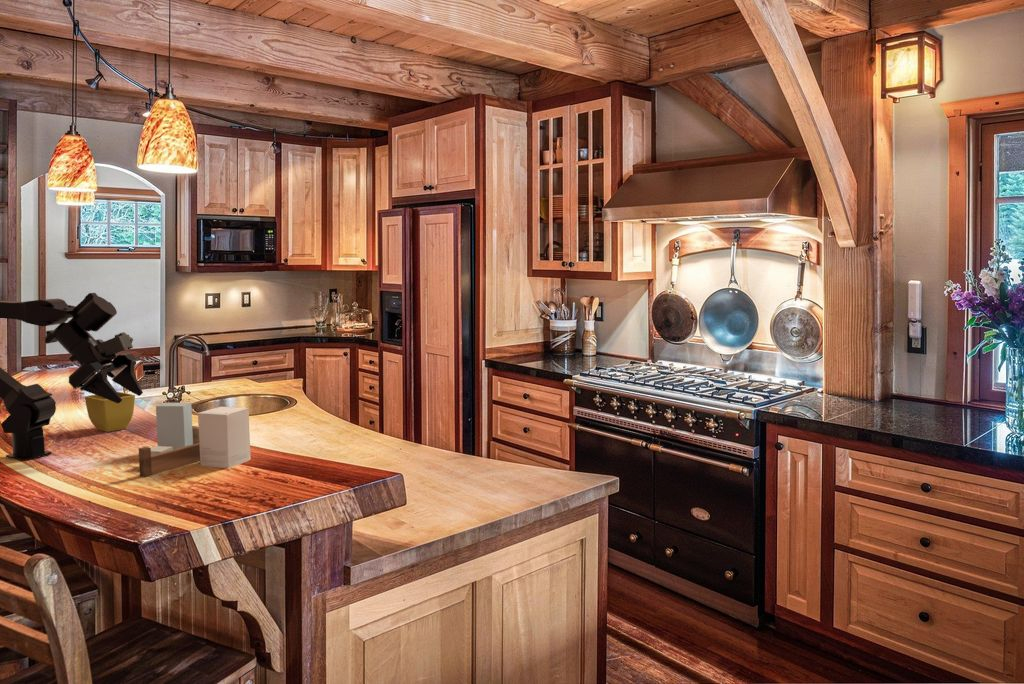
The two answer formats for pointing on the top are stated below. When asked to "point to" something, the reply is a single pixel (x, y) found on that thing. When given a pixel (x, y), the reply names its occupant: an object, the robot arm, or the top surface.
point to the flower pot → (110, 412)
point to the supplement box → (224, 437)
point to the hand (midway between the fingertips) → (131, 398)
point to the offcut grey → (160, 449)
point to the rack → (169, 457)
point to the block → (174, 425)
